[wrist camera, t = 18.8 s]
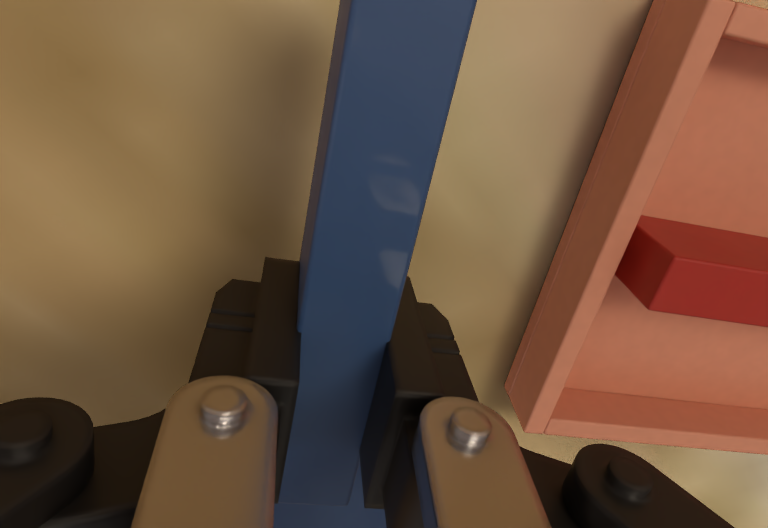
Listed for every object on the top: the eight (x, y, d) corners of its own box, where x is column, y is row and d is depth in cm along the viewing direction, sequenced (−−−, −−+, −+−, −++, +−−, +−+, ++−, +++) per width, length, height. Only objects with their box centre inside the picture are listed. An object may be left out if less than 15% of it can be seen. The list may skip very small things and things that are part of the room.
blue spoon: (378, 544, 14) (390, 652, 12) (183, 537, 13) (156, 653, 11) (552, -36, 8) (641, -40, 6) (230, -119, 8) (194, -159, 5)
